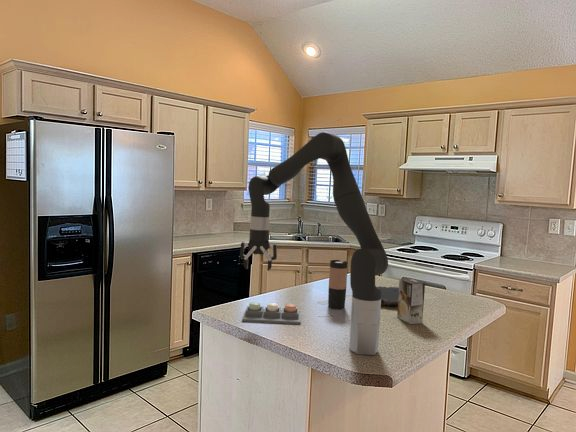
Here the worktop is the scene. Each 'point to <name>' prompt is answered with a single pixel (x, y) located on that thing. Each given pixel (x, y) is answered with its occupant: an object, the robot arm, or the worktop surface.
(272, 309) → the cream button
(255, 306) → the sage button
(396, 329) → the worktop surface
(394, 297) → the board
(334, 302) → the travel mug
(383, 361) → the worktop surface
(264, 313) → the button panel
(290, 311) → the terracotta button
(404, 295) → the coffee box
